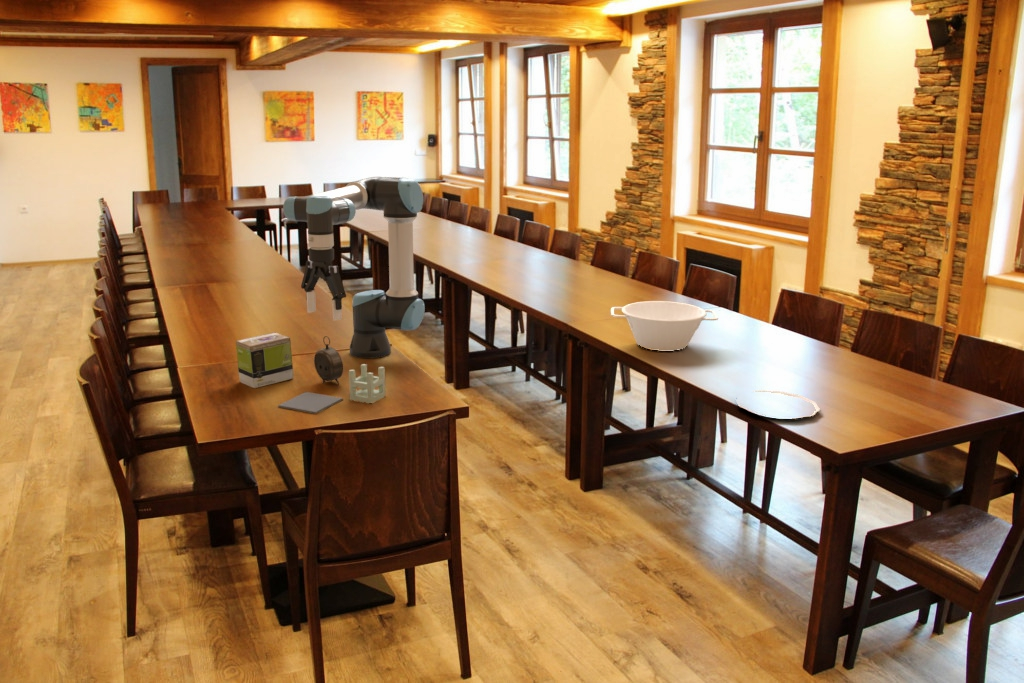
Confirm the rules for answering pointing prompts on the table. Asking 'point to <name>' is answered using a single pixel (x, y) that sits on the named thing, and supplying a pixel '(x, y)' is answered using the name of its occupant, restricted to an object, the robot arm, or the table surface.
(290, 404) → the mat
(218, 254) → the table surface
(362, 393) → the stool
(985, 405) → the table surface
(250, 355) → the tea box
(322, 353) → the alarm clock
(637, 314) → the pot
